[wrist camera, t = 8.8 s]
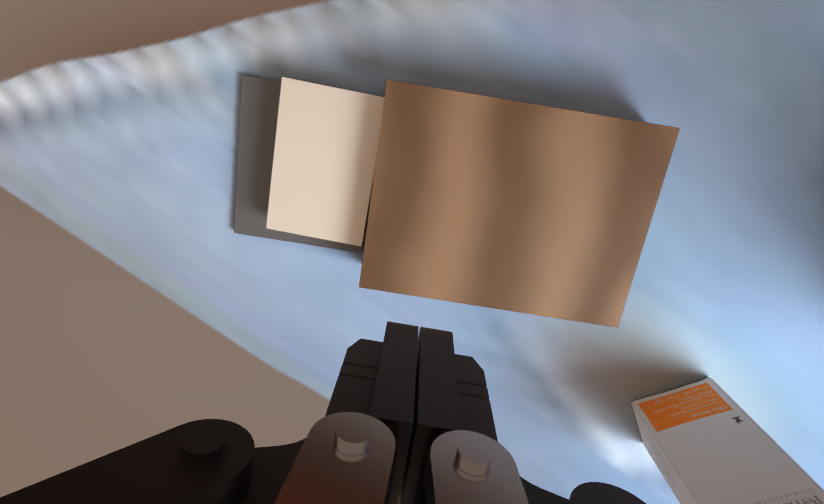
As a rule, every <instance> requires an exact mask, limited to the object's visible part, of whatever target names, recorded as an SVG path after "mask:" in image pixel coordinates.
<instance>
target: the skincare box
mask: <svg viewBox="0 0 824 504" xmlns="http://www.w3.org/2000/svg"><path fill="white" fill-rule="evenodd" d="M631 405H632V408H633V411H634V414H635V417H636V420H637V424H638V427H639V430H640V434H641V437H642V440H643V443H644V446H645V448H646V449H647V451H648V453H649V454H650V456H651V457H652V459H653V461H654V462H655V464H656V465H657V467H658V469H659V470H660V472H661V473H662V475H663V477H664V478H665V480H666V481H667V483H668V485H669V486H670V488H671V489H672V491H673V493H674V494H675V496H676V497H677V499H678V501H679V502H680V504H824V490H823V489H822V488H821V487H820V486H819V485H818V484H817V483H816V482H815V481H814V480H813V479H812V478H811V477H810V476H809V475H808V474H807V473H806V472H805V471H804V470H803V469H802V468H801V467H800V466H799V465H798V464H797V463H796V462H795V461H794V460H793V459H792V458H791V457H790V456H789V455H788V454H787V453H786V452H785V451H784V450H783V449H782V448H781V447H780V446H779V445H778V444H777V443H776V442H775V441H774V440H773V439H772V438H771V437H770V436H769V435H768V434H767V433H766V432H765V431H764V430H763V429H762V428H761V427H760V426H759V425H758V424H757V423H756V422H755V421H754V420H753V419H752V418H751V417H750V416H749V415H748V414H747V413H746V412H745V411H744V410H743V409H742V408H741V407H740V406H739V405H738V404H737V403H736V402H735V401H734V400H733V399H732V398H731V397H730V396H729V395H728V394H727V393H726V392H725V391H724V390H723V389H722V388H721V387H720V386H719V385H718V384H717V383H716V382H715V381H714V380H713V379H711V378H707V379H704V380H702V381H699V382H696V383H692V384H689V385H686V386H683V387H680V388H676V389H673V390H670V391H667V392H663V393H660V394H656V395H653V396H649V397H646V398H642V399H639V400H635V401H632V402H631Z"/></svg>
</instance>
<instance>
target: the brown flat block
mask: <svg viewBox="0 0 824 504" xmlns="http://www.w3.org/2000/svg"><path fill="white" fill-rule="evenodd" d="M679 129H680V128H676V127H670V126H664V125H658V124H652V123H646V122H640V121H634V120H628V119H622V118H616V117H610V116H604V115H597V114H591V113H585V112H579V111H573V110H567V109H561V108H555V107H549V106H543V105H537V104H531V103H525V102H519V101H513V100H507V99H501V98H495V97H489V96H483V95H477V94H471V93H465V92H459V91H453V90H447V89H441V88H435V87H428V86H422V85H416V84H410V83H404V82H398V81H392V80H387V82H386V89H385V97H384V104H383V112H382V119H381V126H380V134H379V141H378V149H377V156H376V164H375V171H374V179H373V186H372V194H371V201H370V209H369V216H368V224H367V231H366V239H365V246H364V253H363V261H362V268H361V276H360V283H359V287H361V288H367V289H374V290H380V291H387V292H393V293H399V294H406V295H412V296H419V297H425V298H431V299H438V300H444V301H451V302H457V303H464V304H470V305H476V306H483V307H489V308H496V309H502V310H508V311H515V312H521V313H528V314H534V315H540V316H547V317H553V318H560V319H566V320H573V321H579V322H585V323H592V324H598V325H605V326H611V327H617V328H618V325H619V321H620V318H621V315H622V312H623V309H624V305H625V302H626V299H627V296H628V293H629V289H630V286H631V283H632V280H633V277H634V273H635V270H636V267H637V264H638V261H639V257H640V254H641V251H642V248H643V245H644V241H645V238H646V235H647V232H648V229H649V225H650V222H651V219H652V216H653V213H654V209H655V206H656V203H657V200H658V197H659V193H660V190H661V187H662V184H663V181H664V177H665V174H666V171H667V168H668V165H669V161H670V158H671V155H672V152H673V149H674V145H675V142H676V139H677V136H678V133H679Z"/></svg>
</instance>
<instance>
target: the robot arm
mask: <svg viewBox="0 0 824 504" xmlns="http://www.w3.org/2000/svg"><path fill="white" fill-rule="evenodd" d="M486 386H487V385H486V380H485V375H484V371H483V369H482V368H481V367H480V366H479V365H478V363H477V362H476V361H475V360H474V359H473V357H469V356H463V355H457V354H454V345H453V334H452V332H449V331H443V330H437V329H431V328H425V327H421V328H420V331H419V336H418V326H412V325H406V324H400V323H394V322H388V321H387V326H386V331H385V336H384V341H383V342H378V341H372V340H366V339H360V340H358V341H357V342H356V343H354V344H353V345H352V346H350V347H349V348H348V349H347V352H346V355H345V358H344V361H343V364H342V367H341V370H340V374H339V376H338V379H337V382H336V385H335V388H334V391H333V394H332V397H331V400H330V403H329V406H328V409H327V413H326V415H325V417H324V418H322V419H320V420H319V421H317V422H316V423H315V424H314V425H313V427H312V428H311V429H310V431H309V434H308V435H307V437H306V438H305V439H303V440H301V441H298V442H295V443H292V444H287V445H281V446H271V447H258V448H254V440H253V438H252V436H251V434H250V433H249V432H248V431H247V430H246V429H245V428H243V427H242V426H240V425H238V424H236V423H233V422H230V421H226V420H220V419H204V420H196V421H192V422H188V423H185V424H183V425H180V426H177V427H175V428H172V429H170V430H167V431H165V432H162V433H160V434H157V435H155V436H152V437H150V438H147V439H145V440H143V441H140V442H137V443H135V444H132V445H130V446H127V447H125V448H123V449H120V450H117V451H115V452H112V453H110V454H107V455H105V456H103V457H100V458H98V459H95V460H93V461H91V462H88V463H85V464H83V465H80V466H78V467H75V468H73V469H70V470H68V471H65V472H63V473H60V474H58V475H55V476H53V477H51V478H48V479H46V480H43V481H40V482H38V483H36V484H33V485H30V486H28V487H25V488H23V489H21V490H18V491H16V492H13V493H11V494H8V495H6V496H3V497H1V498H0V504H646V503H645V502H643V501H642V500H640V499H639V498H638V497H636V496H635V495H633V494H631V493H629V492H628V491H625V490H623V489H621V488H619V487H616V486H613V485H610V484H606V483H600V482H588V483H583V484H581V485H579V486H577V487H576V488H575V489H574V490H573V491H572V493H571V496H570V499H569V500H568V499H566V498H563V497H561V496H558V495H556V494H553V493H551V492H549V491H546V490H544V489H541V488H539V487H537V486H535V485H533V484H531V483H529V482H528V481H526V480H525V479H523V478H522V477H520V475H519V472H518V469H517V466H516V464H515V461H514V459H513V457H512V456H511V454H510V453H509V452H508V451H507V450H506V449H505V448H504V447H503V446H502V445H501V444H500V443H498V441H497V436H496V430H495V425H494V420H493V415H492V410H491V405H490V400H489V395H488V390H487V388H486Z"/></svg>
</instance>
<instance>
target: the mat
mask: <svg viewBox="0 0 824 504" xmlns="http://www.w3.org/2000/svg"><path fill="white" fill-rule="evenodd" d="M280 91H281V81H275V80H269V79H263V78H257V77H251V76H245V75H242V82H241V102H240V122H239V142H238V162H237V182H236V202H235V222H234V233H239V234H245V235H251V236H258V237H264V238H270V239H277V240H283V241H290V242H296V243H302V244H309V245H315V246H321V247H328V248H334V249H340V250H347V251H353V252H359V253H360V252H361V248H362V246H356V245H351V244H346V243H340V242H335V241H330V240H325V239H319V238H314V237H309V236H304V235H298V234H293V233H288V232H283V231H277V230H272V229H267V228H266V225H267V215H268V205H269V196H270V186H271V177H272V167H273V158H274V148H275V139H276V129H277V120H278V110H279V101H280Z"/></svg>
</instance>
